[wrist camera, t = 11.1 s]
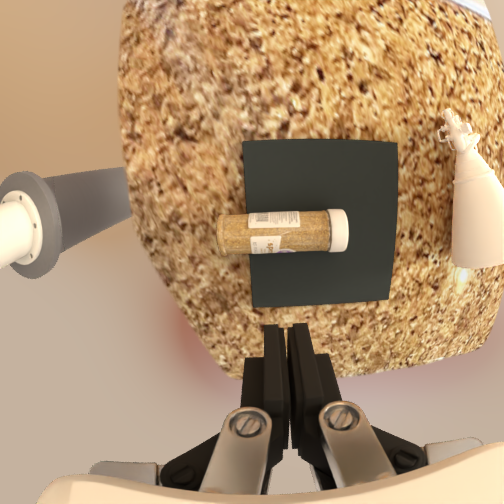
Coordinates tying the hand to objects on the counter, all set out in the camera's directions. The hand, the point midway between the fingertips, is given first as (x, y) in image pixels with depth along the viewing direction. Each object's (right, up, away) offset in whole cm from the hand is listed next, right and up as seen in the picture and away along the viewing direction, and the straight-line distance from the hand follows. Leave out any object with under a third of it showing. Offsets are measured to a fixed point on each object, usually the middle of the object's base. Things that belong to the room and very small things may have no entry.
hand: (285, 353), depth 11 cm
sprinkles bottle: (-5, +6, +20) cm, 21 cm away
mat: (+7, +7, +21) cm, 24 cm away
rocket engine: (+27, +13, +18) cm, 36 cm away
